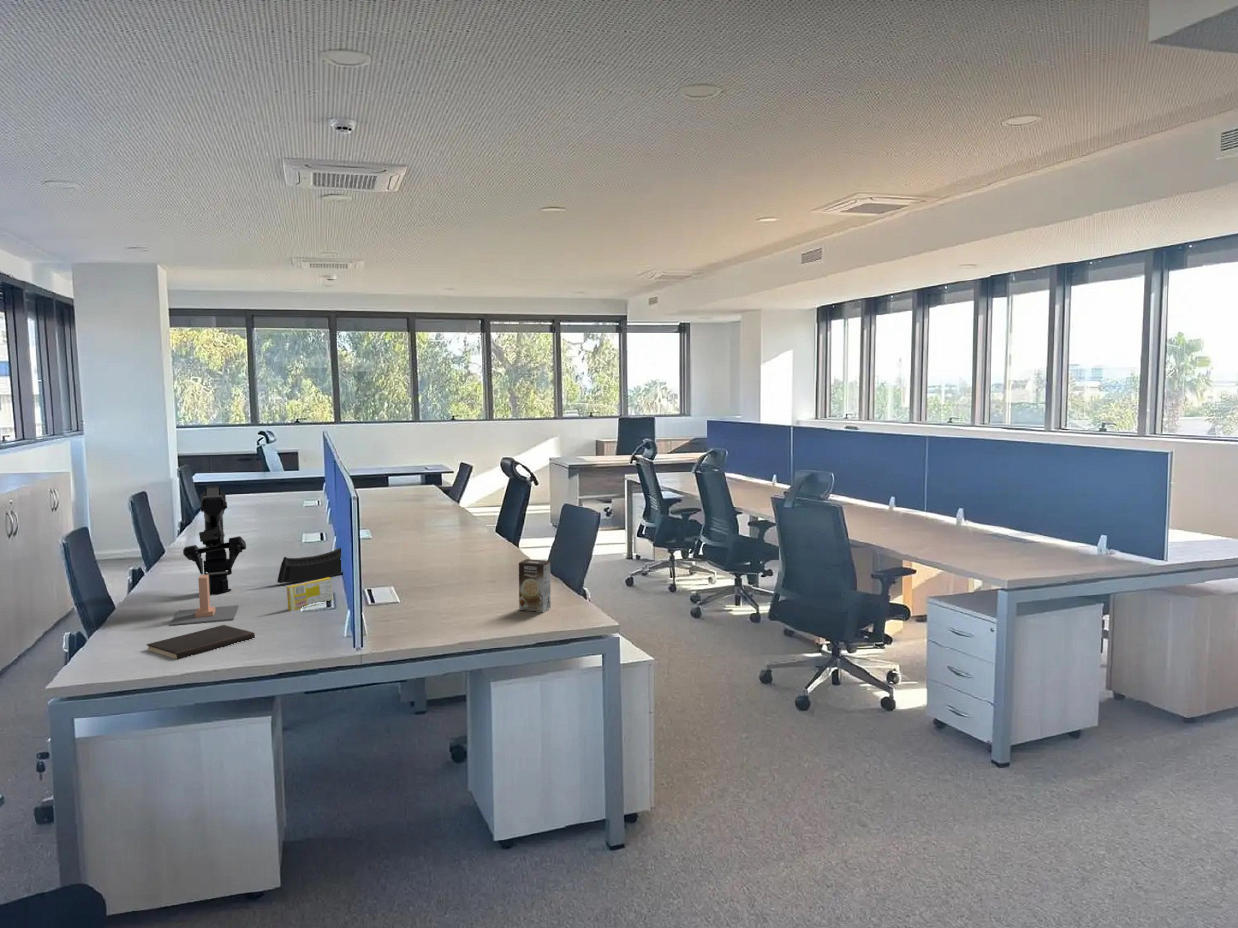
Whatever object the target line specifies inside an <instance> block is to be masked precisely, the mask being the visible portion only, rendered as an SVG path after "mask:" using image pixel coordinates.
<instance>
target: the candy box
mask: <svg viewBox="0 0 1238 928" xmlns="http://www.w3.org/2000/svg"><path fill="white" fill-rule="evenodd" d="M332 589H333V588H332V577H327V578H323V579H318V580H312V581H306V582H300V583H297V584H293V585H289V586H286V596H287V610H288V611H289V612H292V611H297V610H301V608H302V607H304V606H307V605H309V604H313V603H317V602H325V601H330V600H333V601H334V599H333V598H334V597H333V590H332ZM330 602H331V601H330ZM302 609H303V608H302Z"/></svg>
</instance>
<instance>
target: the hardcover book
mask: <svg viewBox="0 0 1238 928" xmlns="http://www.w3.org/2000/svg"><path fill="white" fill-rule="evenodd" d="M252 638H255V639H256V637H255V632H253V631H249V630H247V629H246V630H245V629H241V628H237V627H234V626H229V625H225V624H222V625H219V626H214V627H210V628H206V629H201V630H198V631H194V632H190V633H186V634H182V635H178V636H174V637H171V638H170V637H169V638H166V639H163V640H158V641H154V642H151V643H146V646H147V650H148V651H150V652H153V653H156V654H158V655H163V656H165V655H166V657H168V656H169V658H172V659H174V660H177V661H178V660H181V659H186V658H188V656H189V657H192V656H191V655H193V656H196V655H200V654H203V653H206V652H211V651H214V649H215V650H218V649H217V648H219V649H222V648H226V647H229V646H228V645H230V646H232V645H231V644H233V645H235V644H234V643H237V642H241V641H244V642H246V641H245V640H248V641H250V640H249V639H252ZM252 640H253V639H252ZM241 643H242V642H241ZM237 644H238V643H237ZM225 646H226V647H225ZM221 647H222V648H221Z"/></svg>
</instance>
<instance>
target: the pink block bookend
mask: <svg viewBox="0 0 1238 928" xmlns="http://www.w3.org/2000/svg"><path fill="white" fill-rule="evenodd" d="M197 579H198V581H197V582H198V595H199V596H198V598H199V607H198V608H196V609H197V610H196V612H195V618H197V617H208V616H213V615H214V613H215V611H216V610H215V607H216V606H211V597H210V596H211V593H210V592H209V575H204V574H202V575H201V574H200V575H199V577H198V578H197Z"/></svg>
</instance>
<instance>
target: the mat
mask: <svg viewBox="0 0 1238 928" xmlns="http://www.w3.org/2000/svg"><path fill="white" fill-rule="evenodd" d="M214 607H215V610H216V611H215V613H214V615H213V616H208V617H197V618H195V612H196V610H197V609H198V608H192V609H179V610H178V611H177V613H176V614H175V616H174V617H173V619H172V620H171V622H170V623H169V626H170V627H171V626H172V627H173V626H174V627H175V626H183V625H184V626H185V625H193V624H194V625H195V624H206V623H216V621H218V622H226V621H227V620H229V621H234V620H233V619H235V616H236V614H237V611H238V609H239V605H238V604H236V605H235V604H234V605H227V606H225V605H224V606H214ZM227 622H228V621H227Z"/></svg>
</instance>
